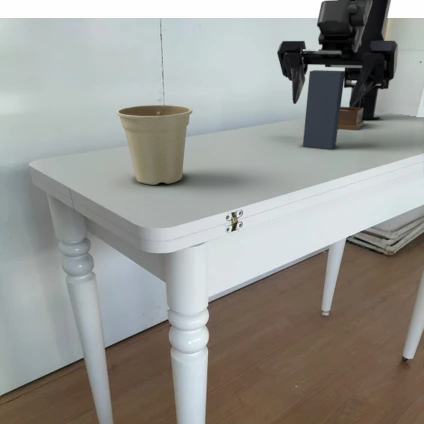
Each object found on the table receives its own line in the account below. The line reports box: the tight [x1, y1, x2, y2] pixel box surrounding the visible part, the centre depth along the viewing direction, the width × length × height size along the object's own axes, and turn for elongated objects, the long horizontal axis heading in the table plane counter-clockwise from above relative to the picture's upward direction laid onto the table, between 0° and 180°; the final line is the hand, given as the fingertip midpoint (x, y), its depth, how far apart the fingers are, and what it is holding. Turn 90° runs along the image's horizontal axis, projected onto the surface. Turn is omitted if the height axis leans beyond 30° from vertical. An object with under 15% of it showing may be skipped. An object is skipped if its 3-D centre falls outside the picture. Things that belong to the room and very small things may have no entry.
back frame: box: [338, 106, 366, 131], centre depth 93 cm, size 7×10×3 cm
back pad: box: [302, 69, 345, 150], centre depth 74 cm, size 2×5×12 cm, turn 62°
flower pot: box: [115, 104, 193, 186], centre depth 58 cm, size 9×9×9 cm
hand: (321, 103), depth 72 cm, fingers open, 9 cm apart
